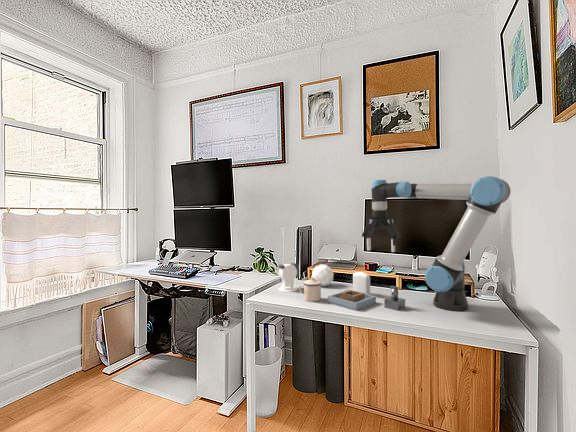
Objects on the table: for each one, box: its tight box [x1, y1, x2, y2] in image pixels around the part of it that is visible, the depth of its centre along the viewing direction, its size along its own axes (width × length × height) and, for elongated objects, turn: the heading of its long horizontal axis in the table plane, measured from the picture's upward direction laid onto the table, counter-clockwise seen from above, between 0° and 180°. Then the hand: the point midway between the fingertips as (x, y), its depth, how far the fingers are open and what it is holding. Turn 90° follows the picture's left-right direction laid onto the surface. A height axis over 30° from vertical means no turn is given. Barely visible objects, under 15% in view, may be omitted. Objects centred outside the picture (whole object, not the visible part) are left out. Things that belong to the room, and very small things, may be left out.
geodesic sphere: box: [311, 263, 335, 287], centre depth 195 cm, size 14×14×14 cm
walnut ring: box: [338, 289, 365, 302], centre depth 160 cm, size 10×9×4 cm
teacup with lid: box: [298, 276, 322, 303], centre depth 167 cm, size 12×9×12 cm
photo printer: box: [352, 271, 371, 295], centre depth 175 cm, size 10×4×12 cm, turn 39°
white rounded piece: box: [277, 262, 298, 293], centre depth 187 cm, size 12×11×15 cm
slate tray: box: [327, 289, 377, 312], centre depth 159 cm, size 17×17×4 cm
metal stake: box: [384, 285, 406, 311], centre depth 152 cm, size 7×7×10 cm
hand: (380, 251), depth 163 cm, fingers open, 13 cm apart
